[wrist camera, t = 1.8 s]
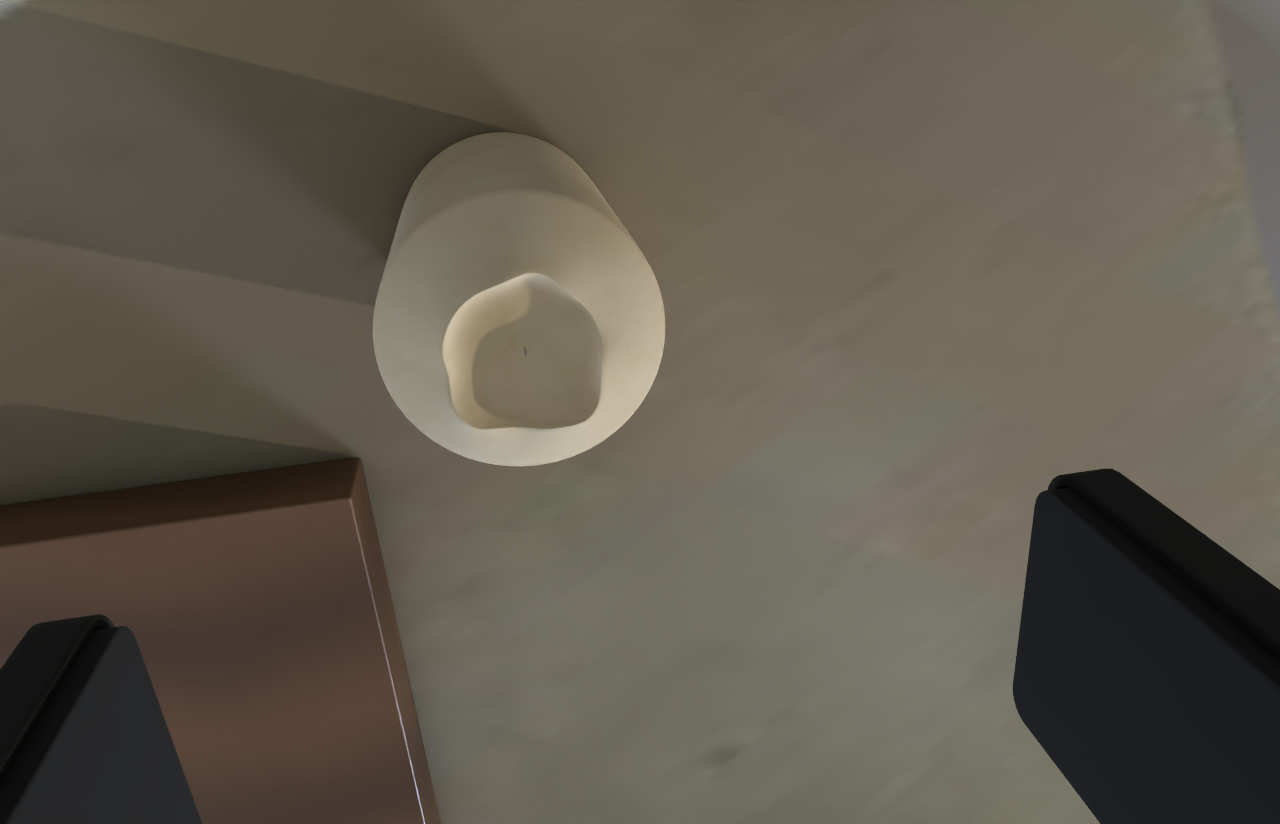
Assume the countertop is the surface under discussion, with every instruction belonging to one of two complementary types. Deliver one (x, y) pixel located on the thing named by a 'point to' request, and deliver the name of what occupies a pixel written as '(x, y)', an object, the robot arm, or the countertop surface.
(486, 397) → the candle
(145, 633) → the serving board
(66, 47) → the countertop surface
